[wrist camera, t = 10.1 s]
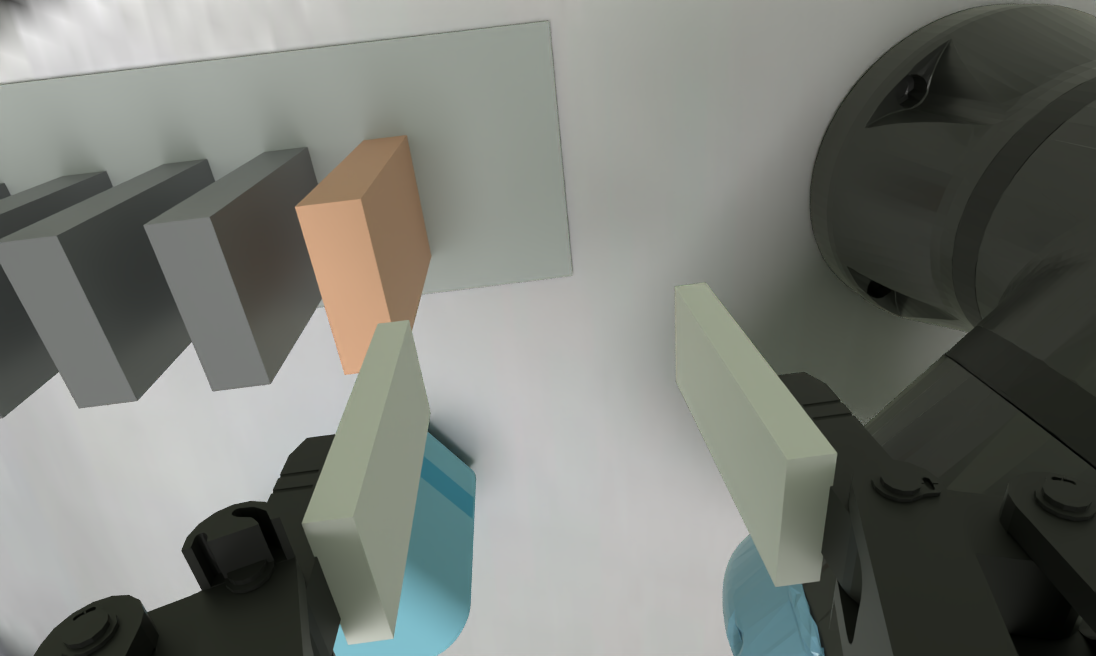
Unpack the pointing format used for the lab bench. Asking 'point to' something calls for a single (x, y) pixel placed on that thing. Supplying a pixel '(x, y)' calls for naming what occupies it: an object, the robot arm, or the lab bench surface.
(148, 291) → the domino
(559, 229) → the mat
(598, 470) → the lab bench surface
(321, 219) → the domino
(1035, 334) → the robot arm
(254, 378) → the domino
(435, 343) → the lab bench surface
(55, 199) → the domino
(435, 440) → the data package
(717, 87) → the lab bench surface
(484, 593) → the lab bench surface
